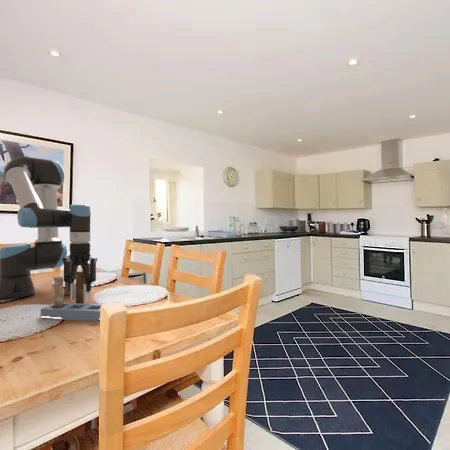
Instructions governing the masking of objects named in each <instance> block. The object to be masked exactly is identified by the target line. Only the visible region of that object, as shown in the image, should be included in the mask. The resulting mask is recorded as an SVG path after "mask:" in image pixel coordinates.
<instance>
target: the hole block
mask: <svg viewBox="0 0 450 450" xmlns="http://www.w3.org/2000/svg"><path fill="white" fill-rule="evenodd" d="M102 304H103V303H101V304H100V303H84V304H81V303H76V302H74V303H73V302H63V307H62V308H54V302H53V303H51V304H49V305H47V306H44V307H42V308H40V317H41V316H50V317H61V318H63V320H64V321H65V320H66V321H84V322H85V321H86V322H100V321H99V318H100V307H101V305H102ZM63 320H62V321H63Z"/></svg>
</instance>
